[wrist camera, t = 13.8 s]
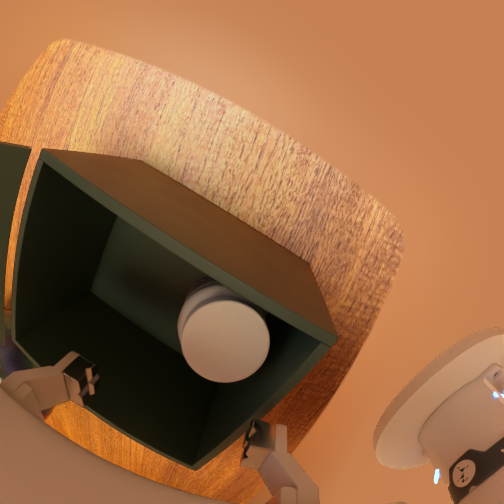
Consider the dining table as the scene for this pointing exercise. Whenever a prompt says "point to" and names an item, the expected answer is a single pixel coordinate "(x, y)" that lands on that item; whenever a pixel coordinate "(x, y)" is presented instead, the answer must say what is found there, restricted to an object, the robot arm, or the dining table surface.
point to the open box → (154, 299)
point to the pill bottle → (222, 332)
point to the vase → (15, 358)
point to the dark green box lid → (8, 207)
